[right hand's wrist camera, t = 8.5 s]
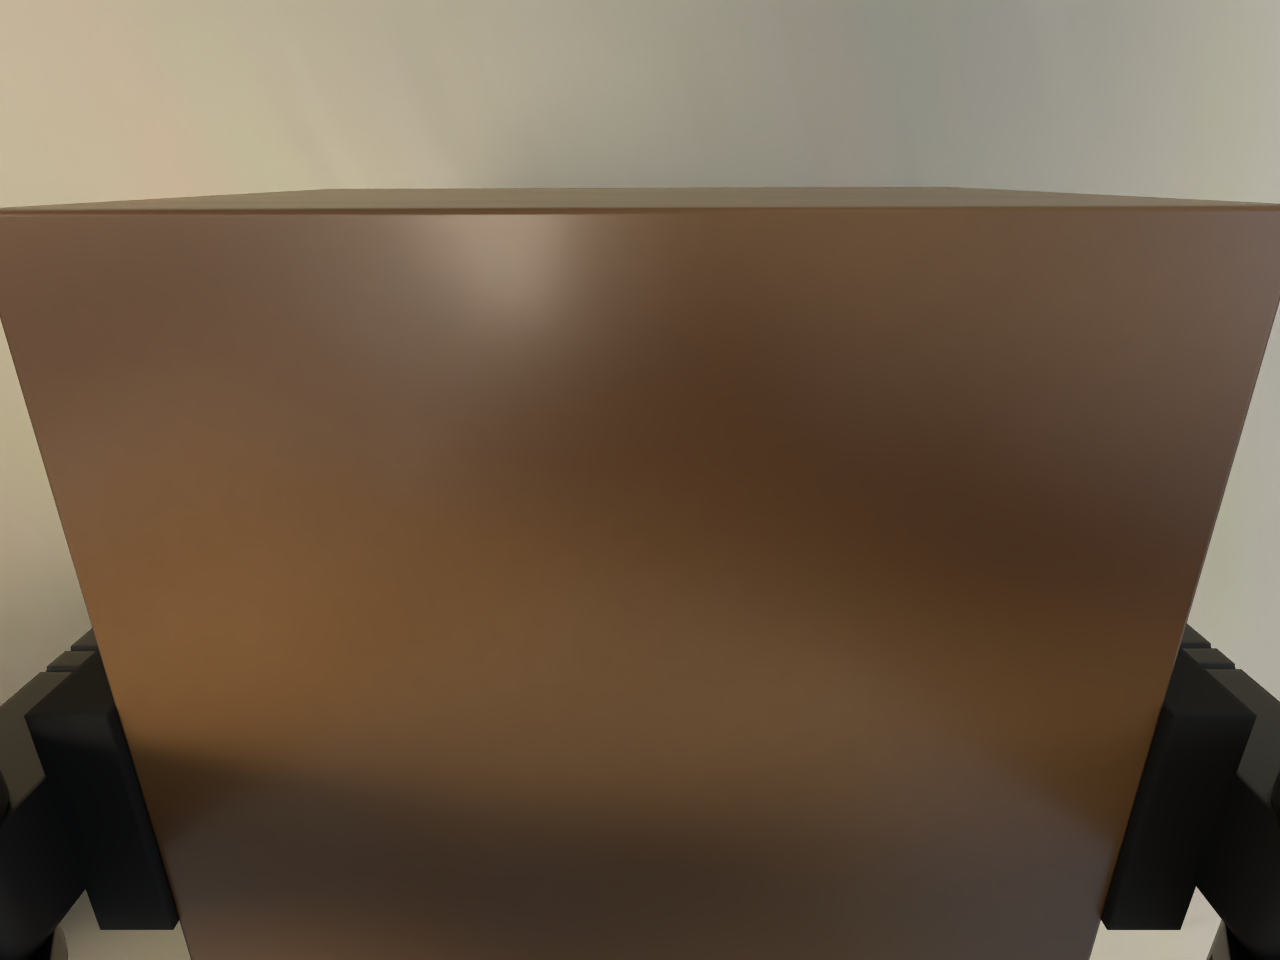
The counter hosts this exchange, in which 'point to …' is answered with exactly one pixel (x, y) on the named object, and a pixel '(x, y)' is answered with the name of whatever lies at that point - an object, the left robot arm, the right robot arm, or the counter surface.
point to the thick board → (639, 552)
